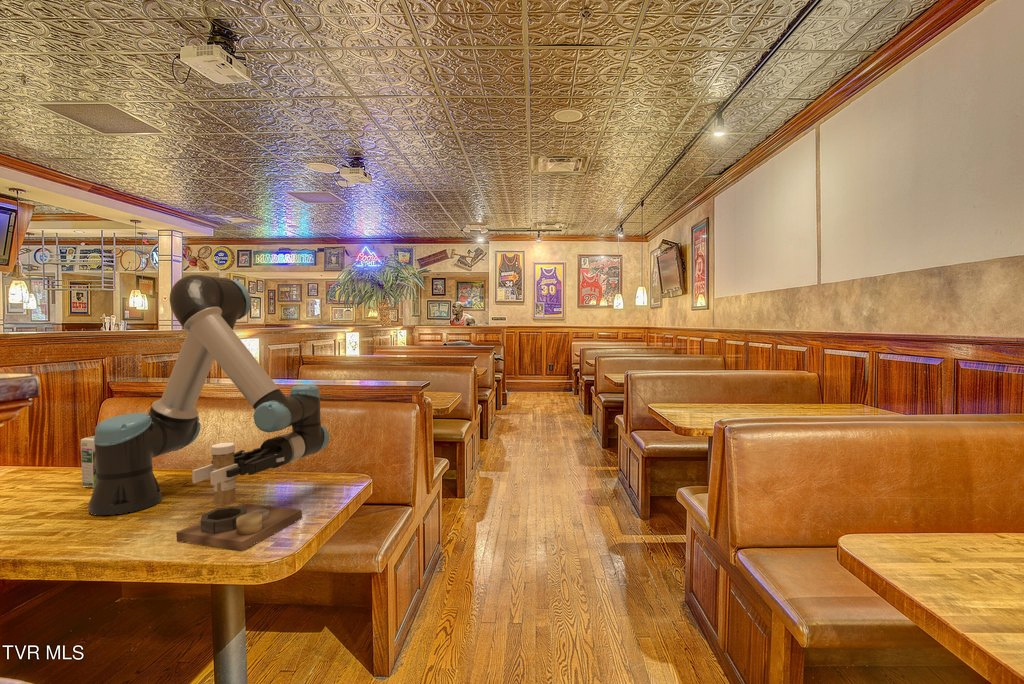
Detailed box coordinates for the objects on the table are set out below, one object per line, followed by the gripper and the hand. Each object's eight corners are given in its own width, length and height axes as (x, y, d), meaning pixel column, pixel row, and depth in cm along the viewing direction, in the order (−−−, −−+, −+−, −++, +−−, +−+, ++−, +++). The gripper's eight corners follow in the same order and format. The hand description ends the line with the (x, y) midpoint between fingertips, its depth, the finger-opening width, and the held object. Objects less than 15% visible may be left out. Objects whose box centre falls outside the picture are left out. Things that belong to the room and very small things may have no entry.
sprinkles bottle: (232, 505, 110) (230, 445, 109) (210, 507, 109) (207, 447, 108) (239, 498, 114) (237, 441, 114) (217, 500, 113) (215, 442, 113)
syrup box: (81, 488, 144) (78, 438, 144) (102, 481, 150) (100, 434, 150) (96, 489, 143) (94, 439, 142) (116, 482, 149) (114, 435, 148)
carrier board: (176, 541, 108) (175, 518, 108) (242, 510, 125) (242, 491, 125) (242, 551, 103) (241, 527, 103) (302, 518, 120) (301, 497, 120)
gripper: (310, 466, 126) (235, 498, 104) (255, 462, 131) (172, 491, 109) (309, 437, 126) (234, 462, 104) (254, 434, 131) (171, 458, 108)
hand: (202, 477), depth 106 cm, fingers closed on sprinkles bottle, 4 cm apart
